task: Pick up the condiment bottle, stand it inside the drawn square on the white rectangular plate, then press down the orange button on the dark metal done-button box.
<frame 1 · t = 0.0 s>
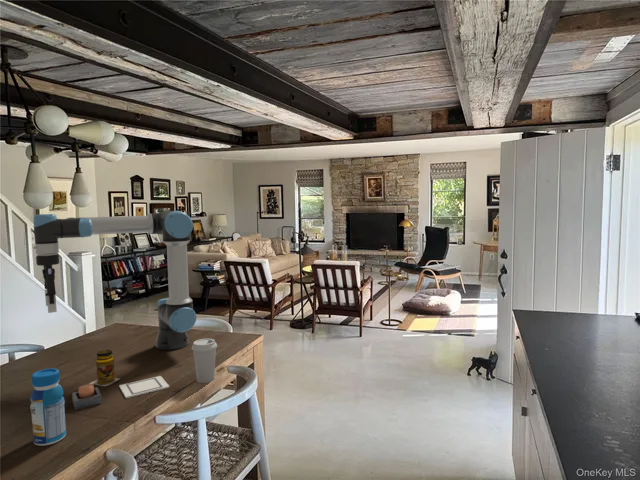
hand: (51, 308, 168), 28 cm above the table, tool pointing down, fingers open, 13 cm apart
coffee cup: (205, 380, 167), on the table
button box: (87, 402, 149), on the table
white rectangular plate: (144, 387, 161), on the table
beverage bottle: (50, 439, 126), on the table
condiment: (104, 382, 167), on the table
done button: (86, 391, 149), point 4 cm above the table, slide at 0.0 cm
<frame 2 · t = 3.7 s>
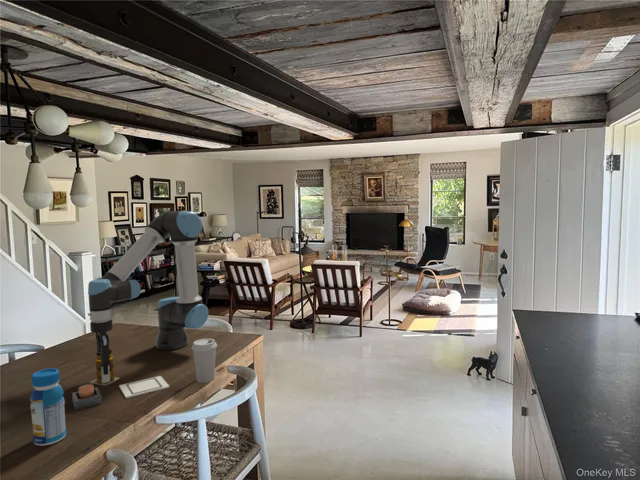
hand: (104, 379, 167), 1 cm above the table, tool pointing down, fingers closed on condiment, 6 cm apart
condiment: (104, 381, 168), on the table, touching gripper
everything else where it was.
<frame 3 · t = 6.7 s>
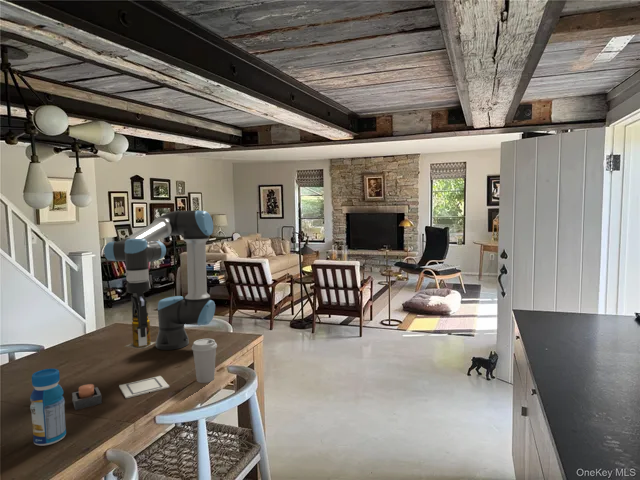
hand: (140, 342, 160), 17 cm above the table, tool pointing down, fingers closed on condiment, 6 cm apart
condiment: (140, 345, 160), point 16 cm above the table, touching gripper
everything else where it was.
when the fingers open (3 cm above the table, at t = 9.8 s): condiment stays where it is, resting on white rectangular plate.
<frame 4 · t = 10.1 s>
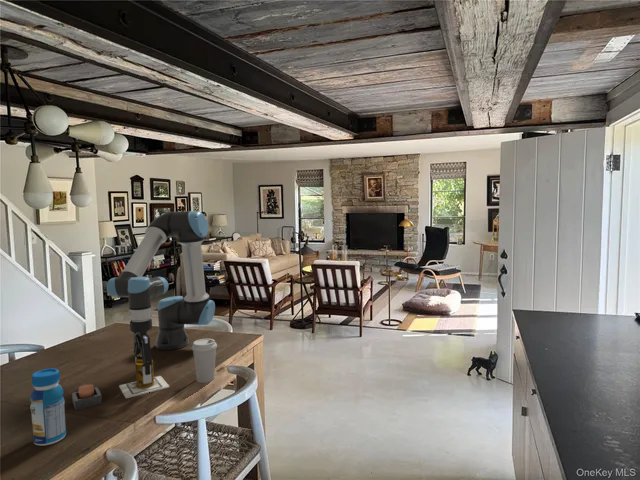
hand: (143, 377, 161), 4 cm above the table, tool pointing down, fingers open, 10 cm apart
condiment: (143, 385, 162), resting on white rectangular plate
everything else where it was.
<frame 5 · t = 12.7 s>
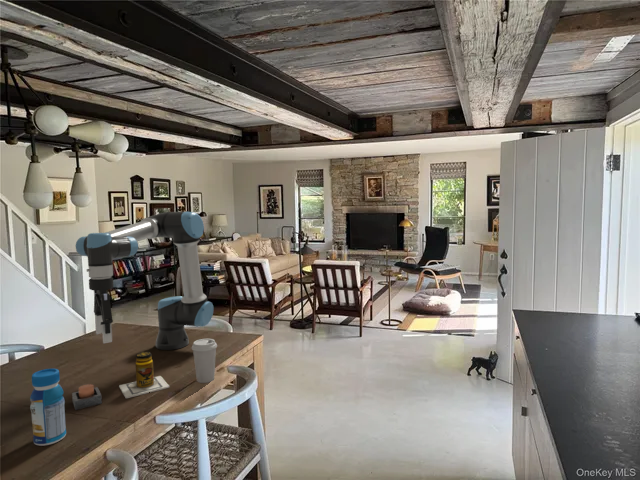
hand: (103, 337, 151), 22 cm above the table, tool pointing down, fingers open, 13 cm apart
nothing on the table moved.
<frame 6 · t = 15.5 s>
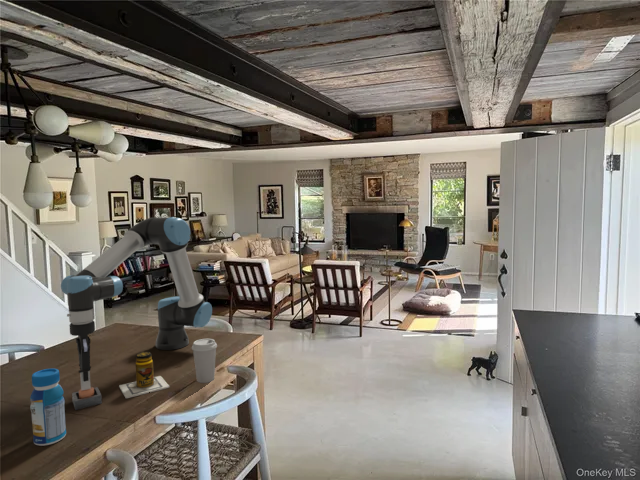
hand: (85, 388, 149), 5 cm above the table, tool pointing down, fingers closed
done button: (86, 393, 149), point 3 cm above the table, slide at 0.9 cm, touching gripper
everything else where it was.
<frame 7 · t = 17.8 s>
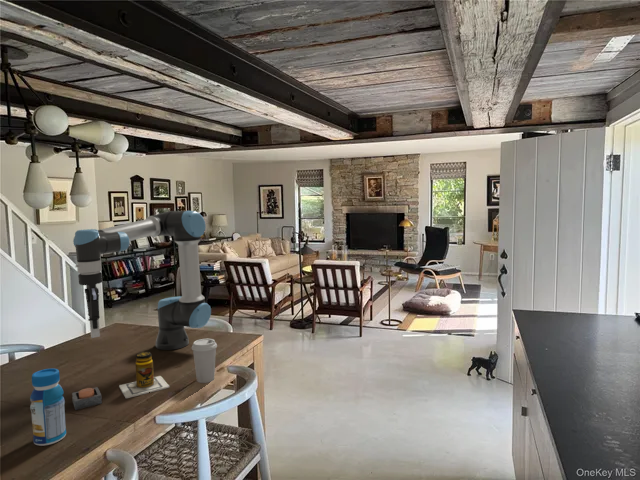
hand: (95, 336, 157), 20 cm above the table, tool pointing down, fingers closed
done button: (86, 394, 149), point 3 cm above the table, slide at 1.3 cm
everything else where it was.
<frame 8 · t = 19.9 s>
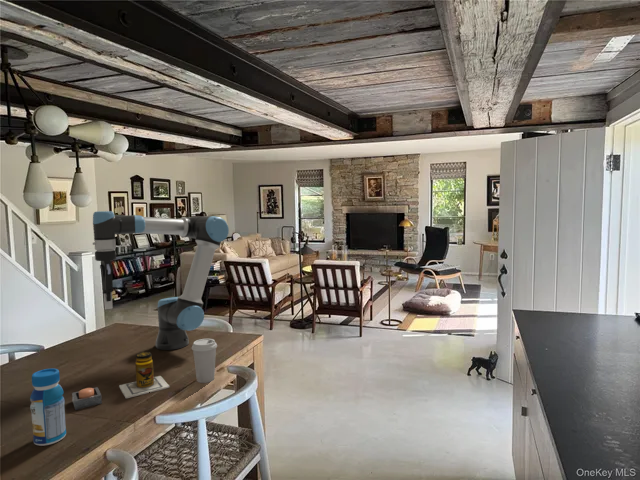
hand: (108, 308, 174), 26 cm above the table, tool pointing down, fingers closed
nothing on the table moved.
at the end: condiment inside the target area on the white rectangular plate (0.9 cm from its centre), point 0.5 cm above the white rectangular plate's base; condiment tilted 0°; done button slide at 1.3 cm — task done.
